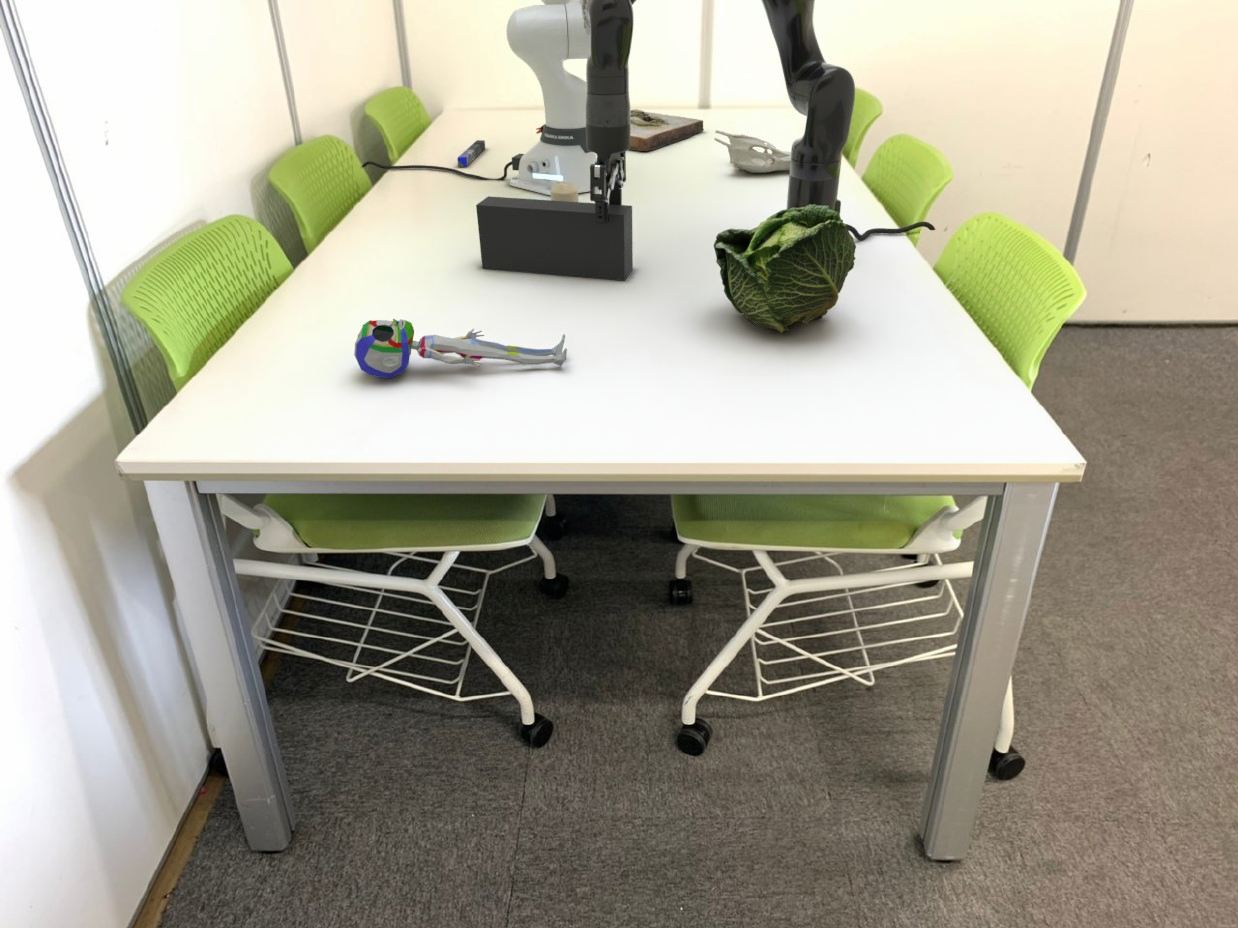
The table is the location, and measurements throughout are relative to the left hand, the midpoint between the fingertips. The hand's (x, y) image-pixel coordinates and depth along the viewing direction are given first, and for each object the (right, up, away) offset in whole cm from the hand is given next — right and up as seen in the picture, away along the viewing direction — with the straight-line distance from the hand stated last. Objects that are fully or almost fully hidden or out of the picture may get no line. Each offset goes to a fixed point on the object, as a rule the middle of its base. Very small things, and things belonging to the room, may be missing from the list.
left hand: (589, 31), depth 170 cm
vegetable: (+32, -59, -25) cm, 72 cm away
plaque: (+10, +13, +89) cm, 90 cm away
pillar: (-34, 0, +70) cm, 77 cm away
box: (-6, -46, -3) cm, 46 cm away
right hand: (+4, -38, -12) cm, 40 cm away
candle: (-5, -34, +15) cm, 38 cm away
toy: (-17, -68, -38) cm, 80 cm away
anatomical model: (+42, -9, +54) cm, 69 cm away
